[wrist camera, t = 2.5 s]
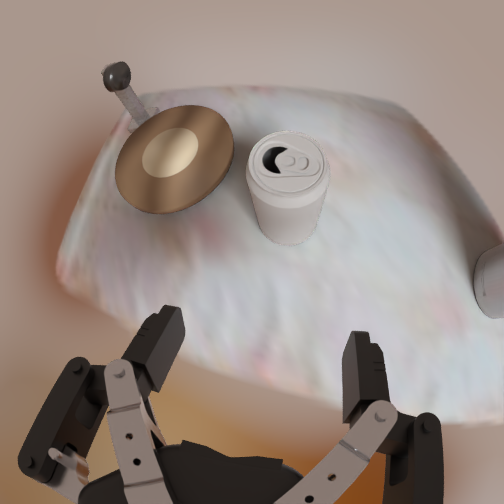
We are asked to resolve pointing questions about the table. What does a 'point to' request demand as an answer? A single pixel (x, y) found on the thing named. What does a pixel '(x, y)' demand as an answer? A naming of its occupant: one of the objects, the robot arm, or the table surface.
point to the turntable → (174, 159)
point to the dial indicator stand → (126, 93)
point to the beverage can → (287, 185)
